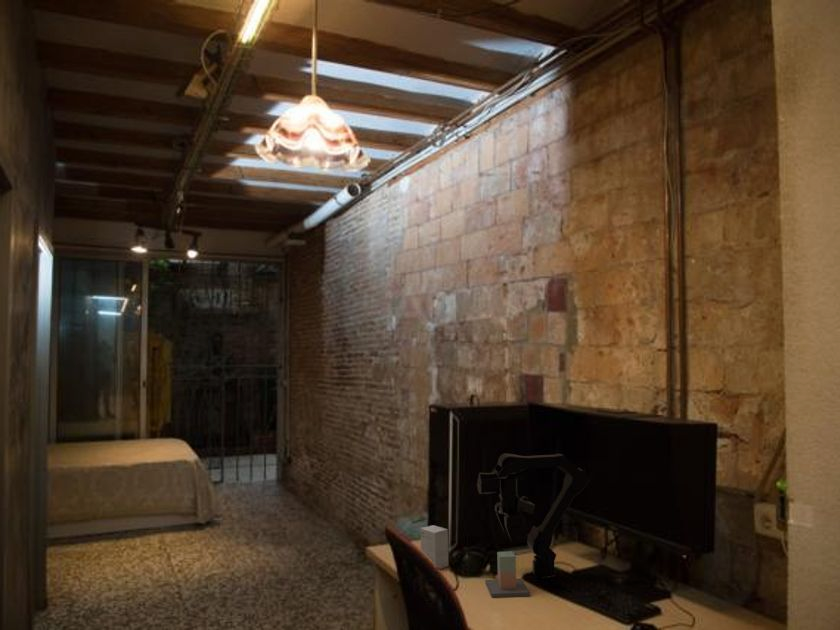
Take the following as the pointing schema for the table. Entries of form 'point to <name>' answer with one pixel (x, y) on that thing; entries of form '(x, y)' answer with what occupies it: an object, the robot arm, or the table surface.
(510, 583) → the terracotta brick
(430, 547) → the small box
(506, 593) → the tower base
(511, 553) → the sage brick
